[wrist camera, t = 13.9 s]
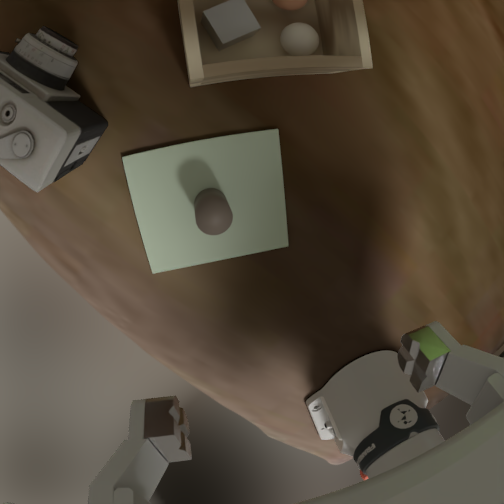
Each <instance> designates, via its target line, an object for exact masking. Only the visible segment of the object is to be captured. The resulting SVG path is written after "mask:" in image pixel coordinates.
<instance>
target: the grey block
mask: <svg viewBox="0 0 504 504" xmlns="http://www.w3.org/2000/svg"><path fill="white" fill-rule="evenodd" d="M201 23H202V24H203V26H204V28H205V29H206V31H207V33H208V34H209V36H210V38H211V39H212V41H213V43H214V44H215V46H216V48H217V49H218V51H221V50H223V49H225V48H227V47H229V46H232V45H234V44H236V43H238V42H240V41H243V40H245V39H247V38H250V37H252V36H253V35H254V34H255V33H256V32H257V31H258V30H259V29H260V28H261V27H260V25H259V23H258V22H257V20H256V18H255V17H254V15H253V13H252V12H251V10H250V8H249V7H248V5H247V3H246V2H245V0H229V1H226V2H224V3H221V4H219V5H217V6H214V7H212V8H210V9H207V10H205V11H203V14H202V20H201Z"/></svg>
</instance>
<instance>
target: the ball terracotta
mask: <svg viewBox="0 0 504 504" xmlns="http://www.w3.org/2000/svg"><path fill="white" fill-rule="evenodd" d="M272 1H273V3H274V4H275V5H276V6H277V7H279V8H281V9H284V10H289V11H293V10H298V9H300V8H302V7H303V6H304V5H305V4H306V3H307V1H308V0H272Z"/></svg>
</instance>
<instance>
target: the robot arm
mask: <svg viewBox="0 0 504 504" xmlns="http://www.w3.org/2000/svg"><path fill="white" fill-rule="evenodd" d="M401 343H402V344H403V345H402V347H401V348H400V349H399V351H398V353H396V352H394V351H389V350H385V351H378V352H374V353H370V354H368V355H365V356H363V357H361V358H359V359H357V360H355V361H353V362H351V363H350V364H348V365H347V366H345V367H344V368H342V369H341V370H340V371H339V372H337V373H336V374H335V375H334V376H333V377H332V378H331V379H330V380H329V381H328V382H327V384H326V385H325V386H324V387H323V388H322V389H321V390H320V391H318V392H317V393H315V394H314V395H312V396H311V397H310V398H308V399H307V401H306V405H307V408H308V410H309V412H310V415H311V417H312V420H313V422H314V425H315V427H316V430H317V432H318V434H319V436H320V438H321V439H322V440H328V439H334V440H335V442H336V444H337V446H338V448H339V451H340V452H341V453H343V454H347V455H350V456H353V458H354V460H355V462H356V463H357V466H358V468H359V469H360V475H361V477H362V479H363V480H365V481H362V482H359V483H357V484H354V485H352V486H349V487H346V488H343V489H340V490H338V491H335V492H332V493H329V494H325V495H322V496H319V497H316V498H313V499H309V500H306V501H302V502H298V503H295V504H504V358H501V357H498V356H495V355H492V354H489V353H486V352H484V351H481V350H478V349H475V348H472V347H469V346H466V345H462V346H461V345H460V344H459V343H458V342H457V341H456V340H455V339H454V338H453V337H452V336H451V335H450V334H449V332H448V331H447V330H446V329H445V328H444V327H443V326H442V325H441V324H440V323H439V322H437V321H435V322H432V323H430V324H427V325H425V326H422V327H420V328H417V329H415V330H413V331H410V332H408V333H405V334H404V335H403V336H402V338H401ZM434 385H436V386H437V387H438V388H440V389H442V390H444V391H446V392H448V393H450V394H451V395H453V396H455V397H457V398H459V399H461V400H463V401H465V402H467V403H469V404H470V405H472V406H471V408H470V410H469V411H468V413H467V415H466V418H467V420H468V421H469V422H470V424H471V425H470V426H468V427H467V428H466V429H464V430H462V431H461V432H459V433H457V434H456V435H454V436H453V437H451V438H449V439H448V440H446V441H445V440H444V439H443V437H442V436H441V434H440V433H439V426H438V424H437V422H436V419H435V418H434V416H433V415H432V414H431V413H430V411H429V410H428V409H426V405H427V402H428V399H427V397H426V395H425V393H424V390H426V389H428V388H430V387H432V386H434ZM188 434H189V424H188V420H187V416H186V414H185V411H184V410H183V408H180V407H179V401H178V399H177V397H176V396H170V397H160V398H151V399H141V400H133V402H132V404H131V410H130V422H129V435H128V440H124V441H123V443H122V444H121V445H120V446H119V448H118V449H117V450H116V452H115V453H114V454H113V456H112V457H111V458H110V459H109V461H108V462H107V463H106V465H105V466H104V467H103V469H102V470H101V471H100V472H99V474H98V475H97V476H96V478H95V479H94V480H93V481H92V483H91V484H90V485H89V496H88V504H151V503H149V499H150V498H151V496H152V494H153V492H154V490H155V489H156V487H157V485H158V483H159V481H160V479H161V477H162V475H163V473H164V472H165V470H166V468H167V466H168V464H169V463H168V462H177V461H183V460H191V459H192V457H191V445H190V442H189V441H188V439H187V436H188ZM368 478H369V479H368ZM366 479H367V480H366ZM4 504H13V503H4Z"/></svg>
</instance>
